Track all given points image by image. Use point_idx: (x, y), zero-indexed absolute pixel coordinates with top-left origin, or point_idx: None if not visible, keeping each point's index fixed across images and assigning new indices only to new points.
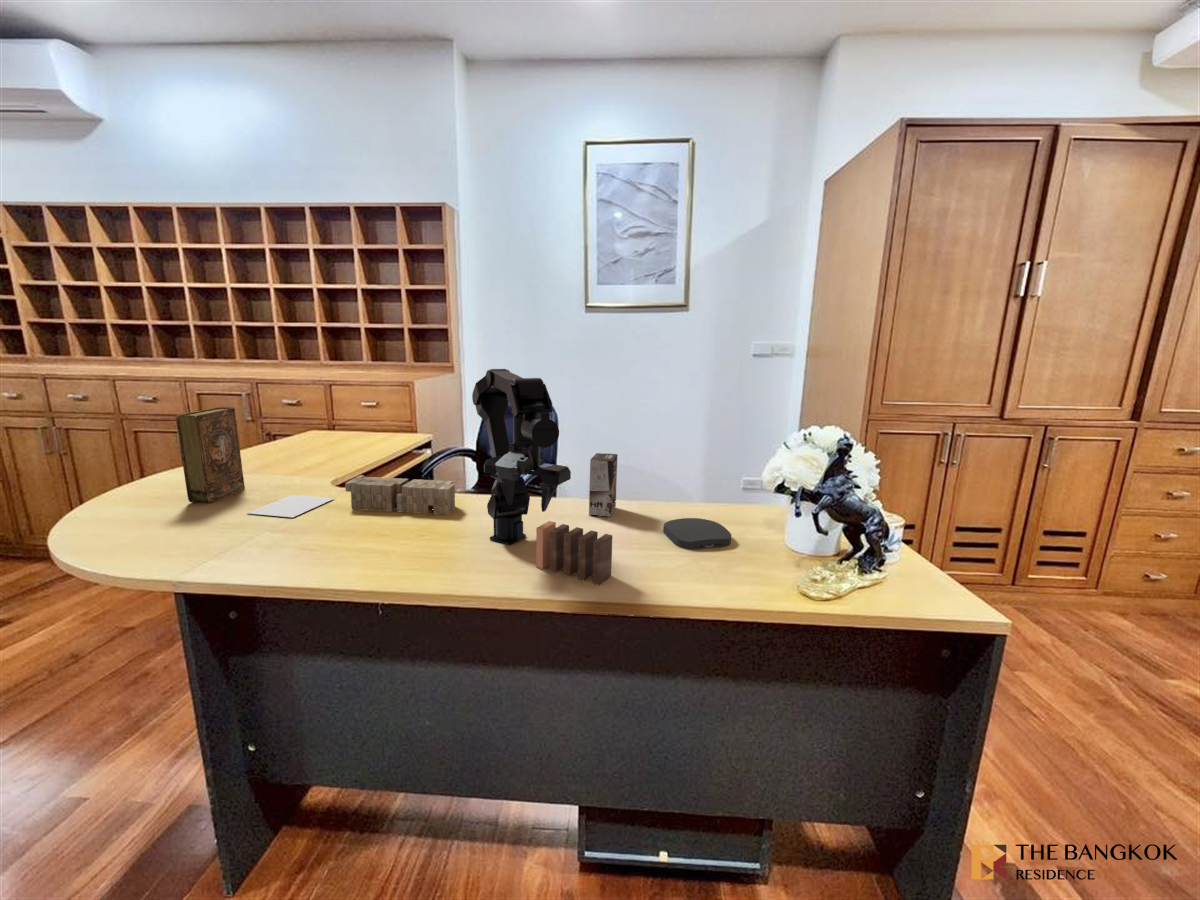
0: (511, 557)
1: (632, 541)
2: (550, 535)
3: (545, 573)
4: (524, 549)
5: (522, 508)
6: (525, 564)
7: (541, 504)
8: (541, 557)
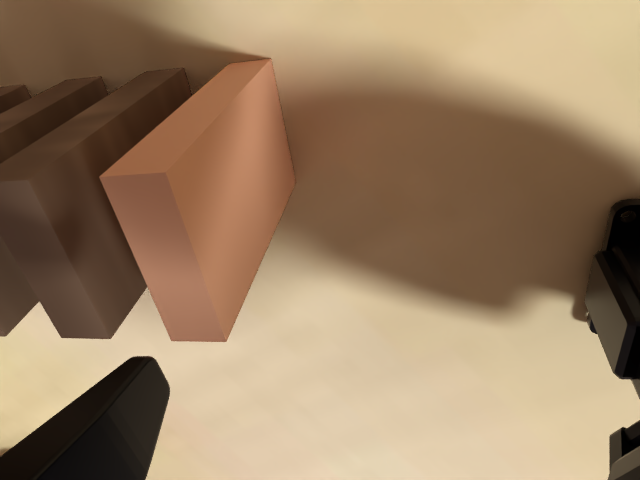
0: (495, 73)
1: (180, 443)
2: (44, 161)
3: (176, 29)
4: (494, 203)
5: (632, 452)
6: (351, 49)
7: (88, 420)
8: (211, 84)
